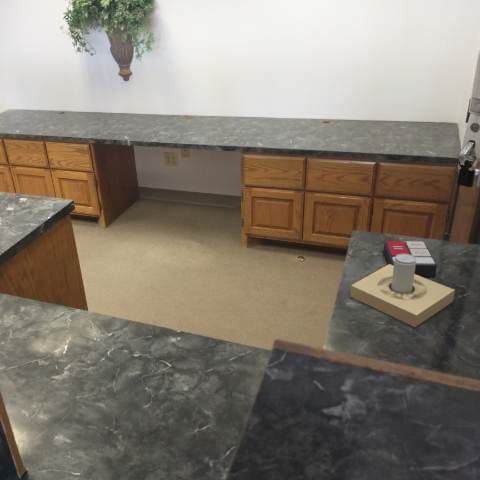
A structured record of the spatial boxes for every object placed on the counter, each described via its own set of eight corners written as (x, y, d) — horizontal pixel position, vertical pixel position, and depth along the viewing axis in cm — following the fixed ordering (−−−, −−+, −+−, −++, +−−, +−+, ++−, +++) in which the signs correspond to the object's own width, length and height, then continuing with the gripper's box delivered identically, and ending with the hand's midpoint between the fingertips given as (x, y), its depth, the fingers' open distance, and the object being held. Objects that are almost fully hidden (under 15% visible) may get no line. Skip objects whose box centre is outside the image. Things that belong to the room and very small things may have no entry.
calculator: (424, 239, 148) (437, 262, 135) (423, 253, 150) (435, 277, 137) (384, 239, 151) (393, 261, 138) (383, 252, 153) (391, 276, 140)
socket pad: (452, 301, 127) (455, 289, 125) (414, 327, 119) (416, 315, 118) (388, 275, 140) (389, 264, 139) (350, 296, 133) (351, 285, 132)
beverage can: (386, 300, 130) (391, 259, 125) (394, 291, 133) (399, 251, 128) (405, 306, 127) (411, 264, 122) (413, 297, 130) (419, 256, 124)
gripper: (486, 115, 103) (472, 194, 110) (529, 99, 111) (513, 173, 118) (450, 111, 108) (438, 186, 116) (492, 95, 116) (479, 167, 124)
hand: (476, 179), depth 117 cm, fingers open, 9 cm apart
